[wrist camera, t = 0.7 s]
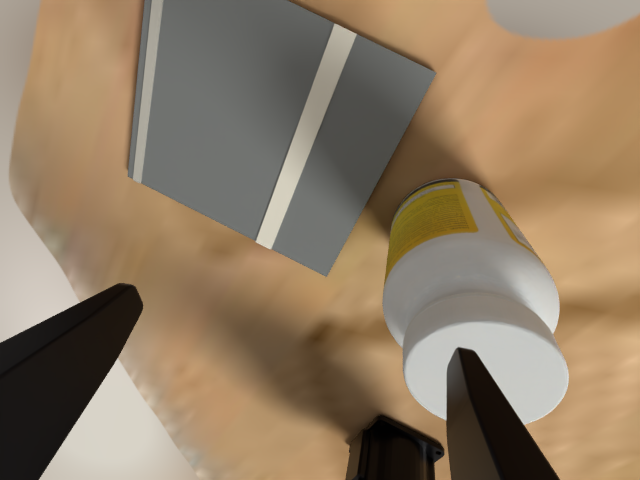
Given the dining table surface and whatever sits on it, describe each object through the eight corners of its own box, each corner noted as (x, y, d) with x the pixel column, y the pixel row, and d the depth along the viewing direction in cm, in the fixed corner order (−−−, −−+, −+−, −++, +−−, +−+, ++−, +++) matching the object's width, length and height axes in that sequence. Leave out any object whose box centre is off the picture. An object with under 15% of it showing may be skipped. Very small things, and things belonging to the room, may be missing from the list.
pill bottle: (371, 235, 22) (336, 376, 12) (438, 152, 18) (468, 249, 8) (452, 288, 22) (485, 471, 12) (532, 216, 19) (670, 384, 9)
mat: (435, 72, 17) (436, 72, 16) (328, 273, 24) (326, 277, 23) (157, -63, 17) (149, -67, 17) (132, 174, 24) (126, 176, 24)
